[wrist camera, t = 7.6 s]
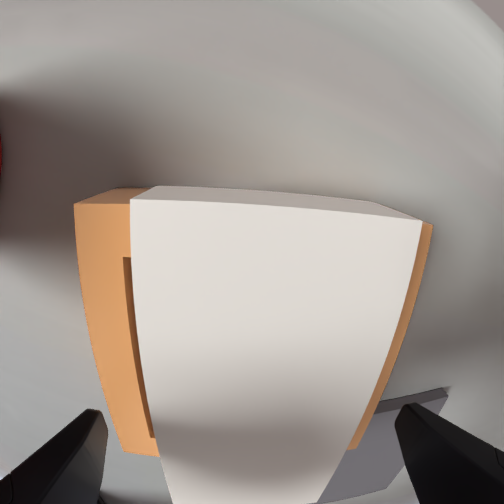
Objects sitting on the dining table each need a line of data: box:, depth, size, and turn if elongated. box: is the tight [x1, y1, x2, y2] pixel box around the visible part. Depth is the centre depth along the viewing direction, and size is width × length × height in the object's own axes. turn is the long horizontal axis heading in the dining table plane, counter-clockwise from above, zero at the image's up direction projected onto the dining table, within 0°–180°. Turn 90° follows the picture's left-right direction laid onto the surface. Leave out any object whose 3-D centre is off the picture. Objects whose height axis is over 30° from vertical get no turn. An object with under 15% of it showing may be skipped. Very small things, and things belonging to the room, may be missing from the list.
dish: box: [74, 187, 433, 457], centre depth 12 cm, size 11×11×4 cm
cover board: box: [130, 186, 423, 504], centre depth 9 cm, size 12×6×2 cm, turn 175°
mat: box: [309, 388, 448, 504], centre depth 18 cm, size 13×10×1 cm
